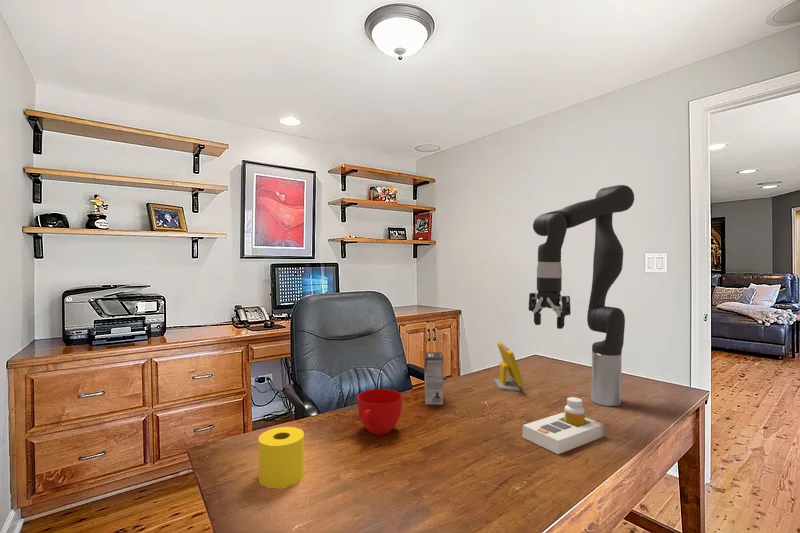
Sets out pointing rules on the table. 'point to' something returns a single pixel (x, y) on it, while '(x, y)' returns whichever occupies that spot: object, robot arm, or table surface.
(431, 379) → the coffee box
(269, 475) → the yellow toilet paper roll
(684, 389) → the table surface
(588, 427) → the white bottle holder
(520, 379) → the yellow framed monitor
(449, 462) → the table surface
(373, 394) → the ceramic cup
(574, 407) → the supplement bottle
